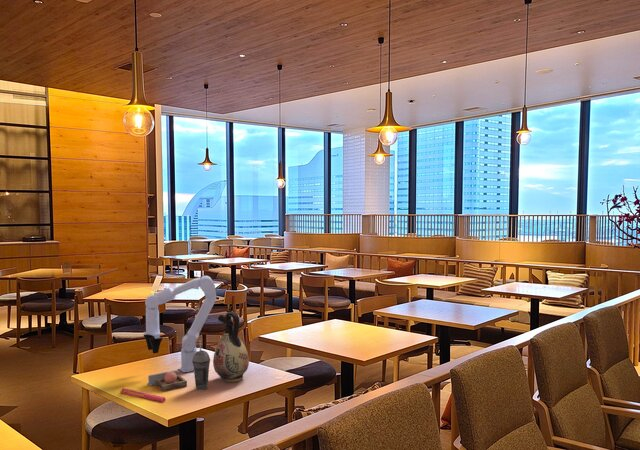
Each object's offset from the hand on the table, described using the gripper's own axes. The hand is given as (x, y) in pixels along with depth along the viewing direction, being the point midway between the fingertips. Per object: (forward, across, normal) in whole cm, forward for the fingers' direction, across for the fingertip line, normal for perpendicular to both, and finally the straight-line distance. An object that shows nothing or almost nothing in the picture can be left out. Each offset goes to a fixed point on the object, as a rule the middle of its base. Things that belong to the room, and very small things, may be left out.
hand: (153, 351), depth 224 cm
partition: (+10, +16, 0) cm, 19 cm away
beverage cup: (+10, +34, +10) cm, 37 cm away
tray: (+10, +22, +1) cm, 25 cm away
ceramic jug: (+10, +31, +25) cm, 41 cm away
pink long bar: (+10, +29, -12) cm, 33 cm away
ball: (+9, +22, +1) cm, 24 cm away
